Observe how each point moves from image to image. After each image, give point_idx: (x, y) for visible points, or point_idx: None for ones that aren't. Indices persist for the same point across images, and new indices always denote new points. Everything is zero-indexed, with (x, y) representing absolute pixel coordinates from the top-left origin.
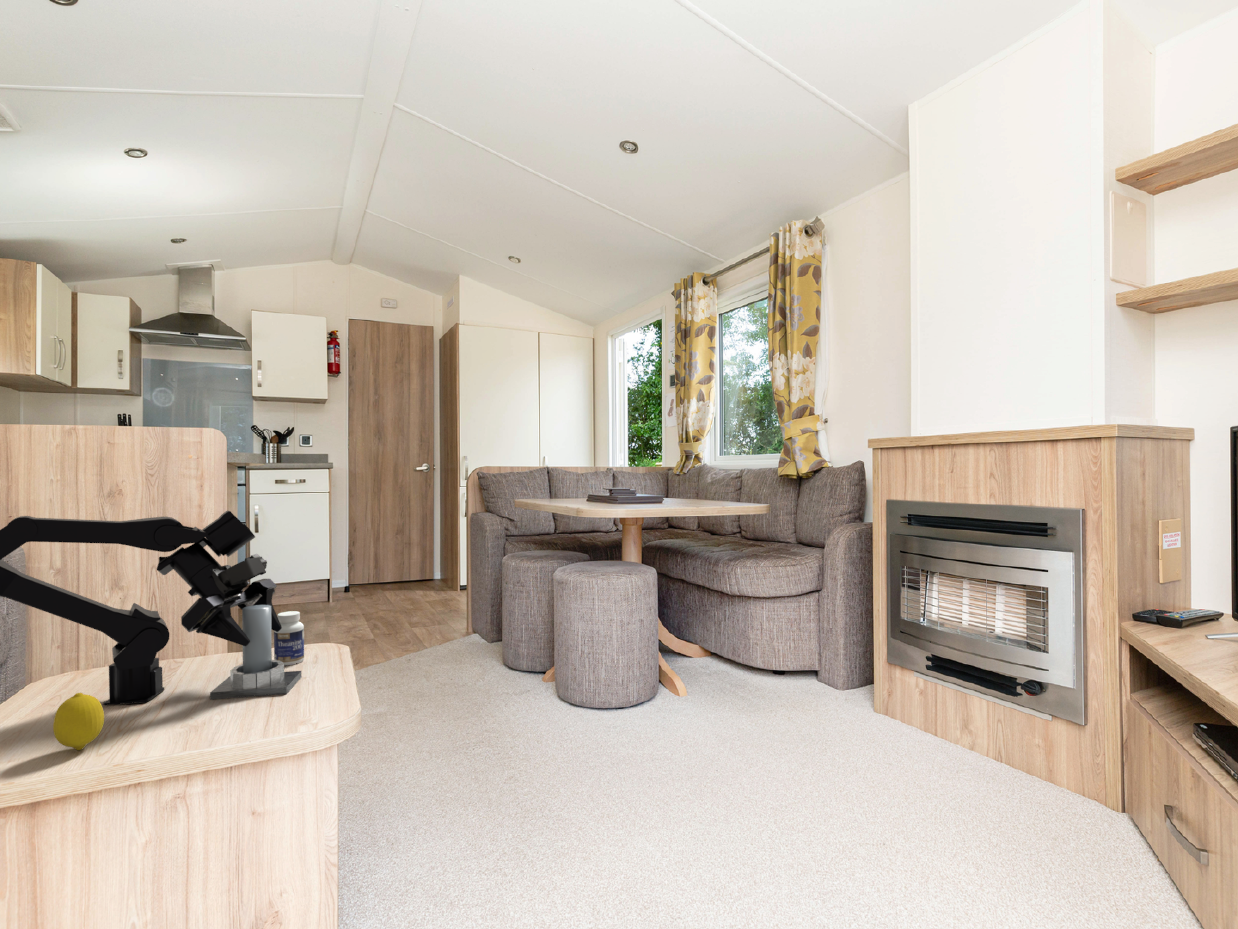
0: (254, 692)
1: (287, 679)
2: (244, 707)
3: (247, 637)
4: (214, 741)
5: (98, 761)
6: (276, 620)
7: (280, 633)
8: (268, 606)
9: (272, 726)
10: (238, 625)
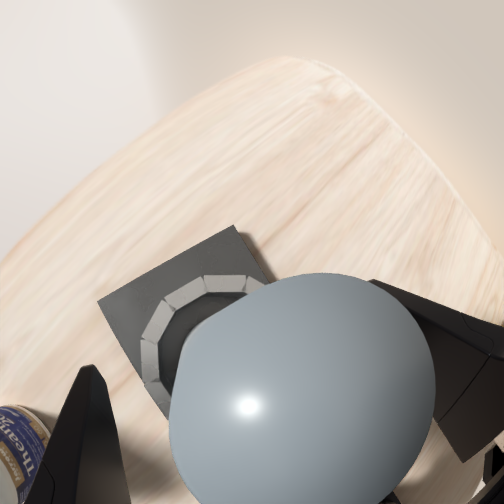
0: None
1: (178, 275)
2: (332, 260)
3: (383, 289)
4: (429, 182)
5: (500, 278)
6: (82, 404)
7: (11, 477)
8: (231, 350)
9: (362, 135)
10: (444, 325)
